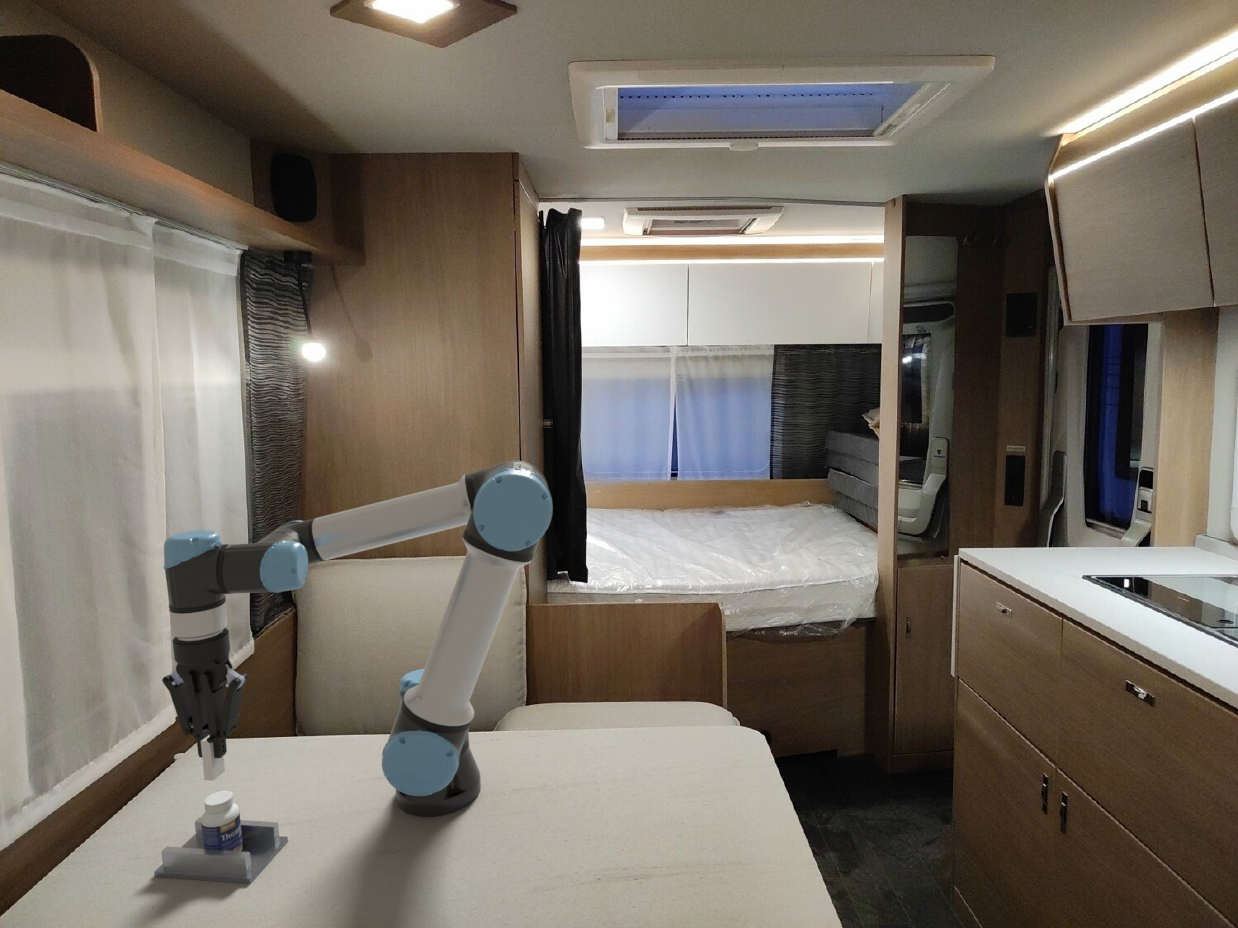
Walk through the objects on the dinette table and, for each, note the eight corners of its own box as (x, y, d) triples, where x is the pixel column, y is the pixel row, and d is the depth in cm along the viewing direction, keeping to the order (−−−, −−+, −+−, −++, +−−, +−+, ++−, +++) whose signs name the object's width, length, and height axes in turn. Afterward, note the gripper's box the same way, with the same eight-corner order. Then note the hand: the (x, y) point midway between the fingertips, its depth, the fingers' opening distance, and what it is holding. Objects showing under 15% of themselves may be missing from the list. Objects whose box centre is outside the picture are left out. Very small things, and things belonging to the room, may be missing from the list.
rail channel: (287, 841, 120) (286, 819, 120) (250, 883, 110) (248, 860, 110) (199, 835, 122) (197, 814, 122) (154, 876, 112) (152, 853, 112)
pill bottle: (226, 867, 113) (221, 809, 112) (197, 863, 114) (191, 805, 113) (250, 844, 118) (245, 789, 117) (222, 841, 119) (216, 786, 118)
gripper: (255, 624, 114) (267, 764, 117) (179, 622, 116) (193, 760, 119) (223, 642, 107) (238, 791, 110) (143, 639, 108) (159, 786, 112)
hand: (214, 775), depth 114 cm, fingers closed
